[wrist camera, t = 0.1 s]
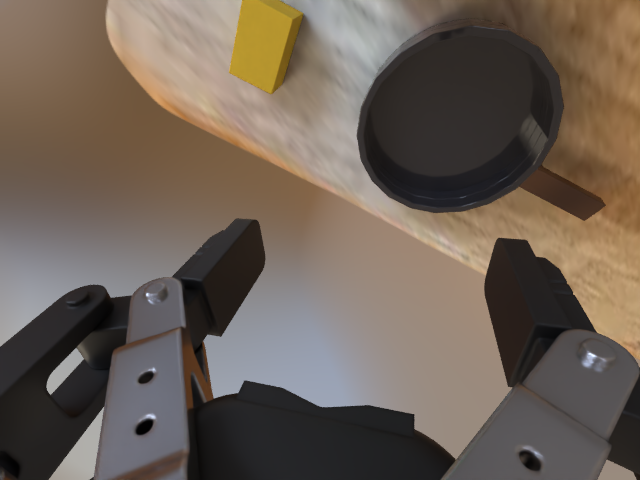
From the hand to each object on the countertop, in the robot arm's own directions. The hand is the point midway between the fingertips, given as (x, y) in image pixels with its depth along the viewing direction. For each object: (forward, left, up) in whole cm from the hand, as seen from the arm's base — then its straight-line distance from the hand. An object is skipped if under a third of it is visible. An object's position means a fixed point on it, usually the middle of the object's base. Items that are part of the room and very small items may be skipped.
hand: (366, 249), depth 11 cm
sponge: (+2, -11, -22) cm, 25 cm away
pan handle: (+1, +17, -22) cm, 28 cm away
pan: (+1, +6, -22) cm, 23 cm away
